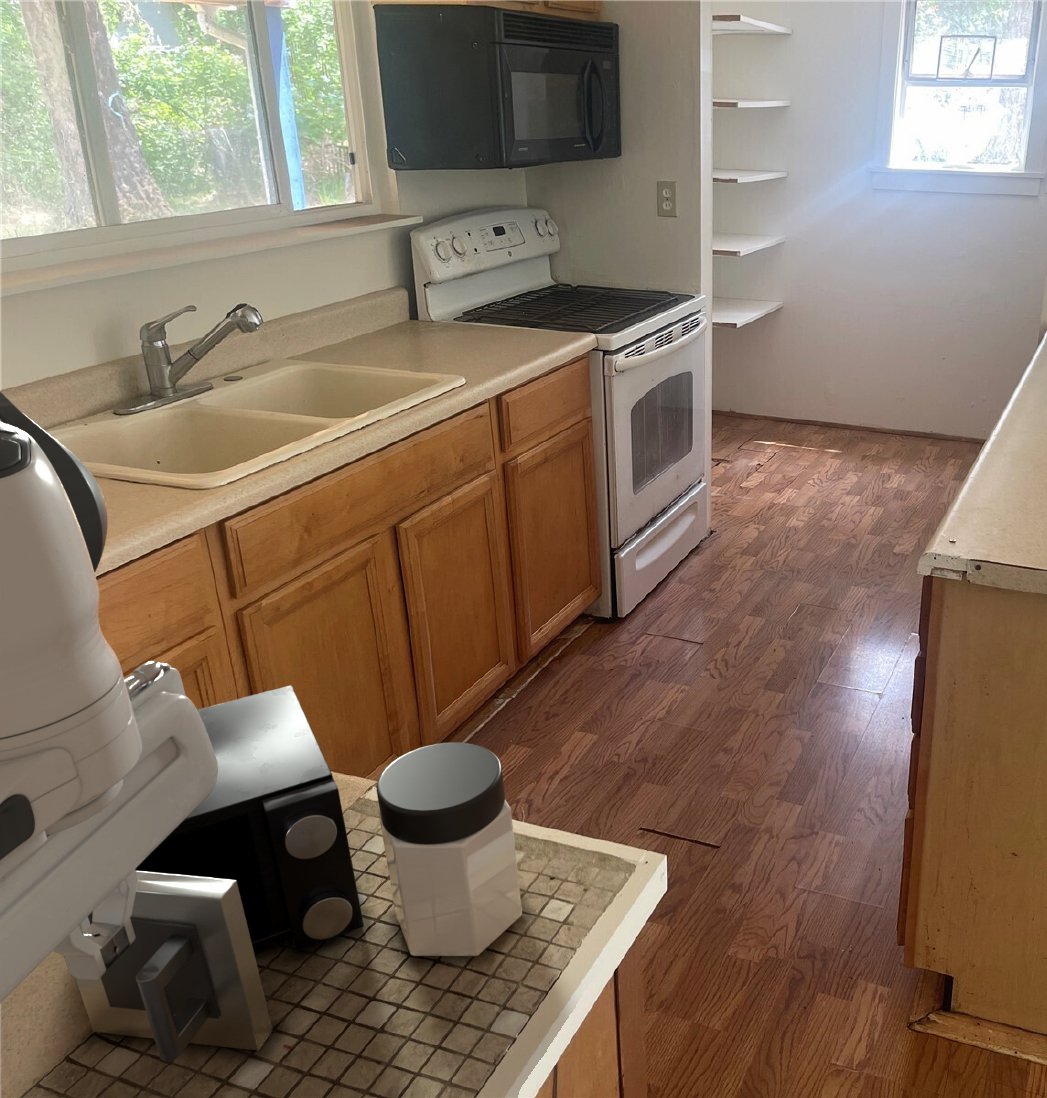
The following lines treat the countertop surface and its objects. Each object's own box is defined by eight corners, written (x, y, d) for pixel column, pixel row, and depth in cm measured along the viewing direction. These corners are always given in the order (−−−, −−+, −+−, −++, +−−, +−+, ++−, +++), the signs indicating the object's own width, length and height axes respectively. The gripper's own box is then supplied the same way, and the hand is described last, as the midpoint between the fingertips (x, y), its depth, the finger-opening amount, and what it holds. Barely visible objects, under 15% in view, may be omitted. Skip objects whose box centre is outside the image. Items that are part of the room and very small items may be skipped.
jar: (533, 877, 77) (519, 740, 72) (510, 959, 69) (493, 812, 65) (413, 877, 77) (392, 740, 72) (378, 959, 69) (351, 812, 65)
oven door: (224, 1103, 59) (180, 946, 54) (49, 1081, 60) (-8, 926, 56) (273, 1030, 64) (236, 879, 59) (110, 1011, 65) (62, 863, 61)
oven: (367, 936, 71) (340, 792, 67) (103, 1038, 63) (52, 883, 59) (316, 812, 84) (291, 684, 79) (92, 884, 76) (49, 748, 72)
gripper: (120, 643, 61) (173, 834, 66) (-221, 877, 42) (-109, 1117, 47) (218, 649, 60) (264, 842, 65) (-85, 889, 41) (14, 1132, 46)
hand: (105, 960), depth 56 cm, fingers closed
